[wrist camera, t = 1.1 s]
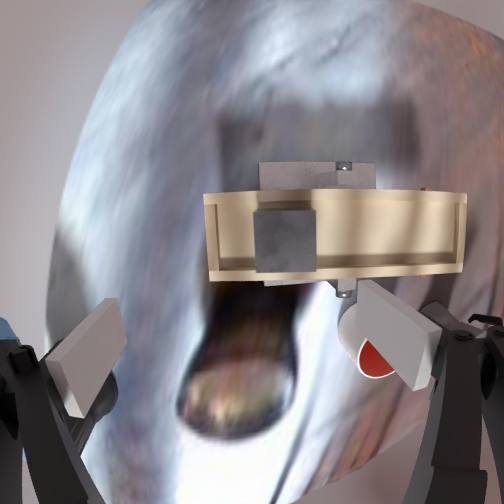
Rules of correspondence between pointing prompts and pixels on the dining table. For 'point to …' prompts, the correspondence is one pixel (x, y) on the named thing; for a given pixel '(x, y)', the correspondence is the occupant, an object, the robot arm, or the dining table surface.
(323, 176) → the stand
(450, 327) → the coffeepot
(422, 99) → the dining table surface
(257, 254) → the block
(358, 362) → the cup
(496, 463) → the robot arm
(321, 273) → the beam
